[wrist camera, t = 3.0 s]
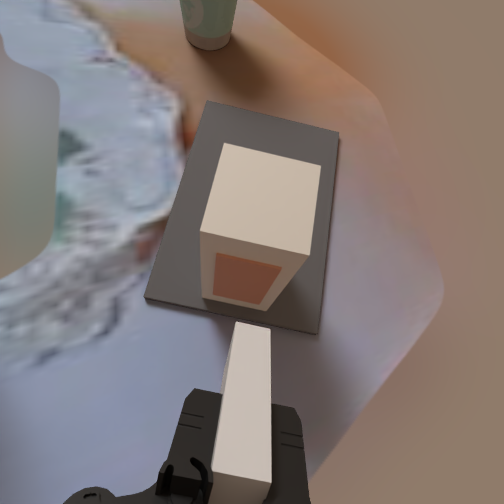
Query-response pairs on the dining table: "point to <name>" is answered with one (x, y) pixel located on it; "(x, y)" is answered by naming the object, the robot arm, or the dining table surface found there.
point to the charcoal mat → (196, 198)
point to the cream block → (256, 226)
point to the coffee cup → (208, 22)
